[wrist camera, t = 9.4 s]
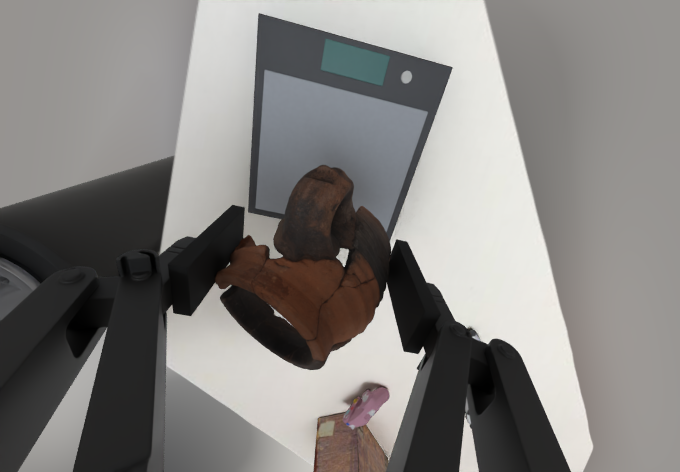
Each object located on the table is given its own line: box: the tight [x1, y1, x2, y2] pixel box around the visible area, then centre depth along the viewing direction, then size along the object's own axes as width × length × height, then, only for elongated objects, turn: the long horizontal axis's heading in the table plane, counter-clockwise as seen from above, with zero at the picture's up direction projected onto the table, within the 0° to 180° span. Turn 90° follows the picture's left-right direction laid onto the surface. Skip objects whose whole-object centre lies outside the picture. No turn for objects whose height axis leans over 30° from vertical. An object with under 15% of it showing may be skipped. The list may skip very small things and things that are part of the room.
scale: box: [248, 13, 452, 241], centre depth 27 cm, size 18×19×3 cm
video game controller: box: [342, 387, 389, 430], centre depth 49 cm, size 10×5×7 cm, turn 145°
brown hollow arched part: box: [215, 165, 391, 370], centre depth 15 cm, size 12×10×8 cm
